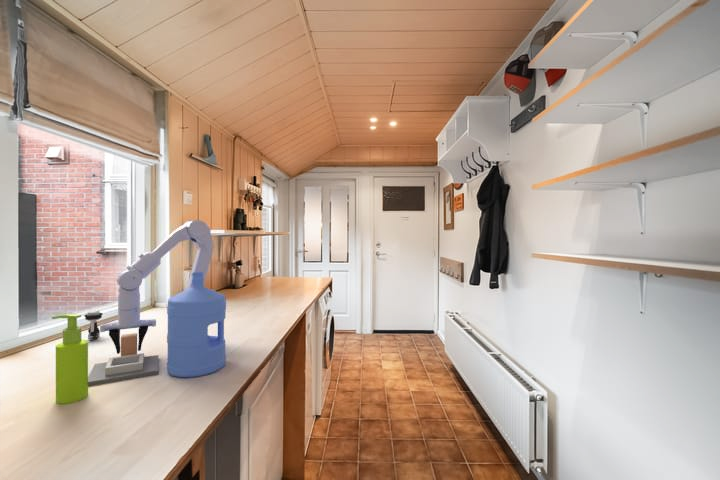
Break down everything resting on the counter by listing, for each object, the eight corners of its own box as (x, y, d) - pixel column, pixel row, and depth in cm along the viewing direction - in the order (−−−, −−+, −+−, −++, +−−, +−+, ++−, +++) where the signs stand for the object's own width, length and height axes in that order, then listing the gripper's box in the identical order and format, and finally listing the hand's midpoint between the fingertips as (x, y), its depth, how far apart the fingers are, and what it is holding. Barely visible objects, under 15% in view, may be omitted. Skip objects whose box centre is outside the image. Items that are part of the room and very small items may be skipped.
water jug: (164, 382, 90) (164, 277, 90) (169, 362, 104) (169, 271, 104) (227, 373, 97) (228, 274, 96) (223, 355, 111) (224, 269, 110)
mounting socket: (158, 358, 107) (158, 348, 107) (157, 374, 95) (157, 363, 95) (94, 367, 99) (94, 357, 99) (85, 386, 87) (85, 374, 87)
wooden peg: (137, 354, 110) (137, 332, 110) (136, 358, 107) (136, 336, 107) (122, 356, 108) (122, 334, 108) (120, 360, 105) (120, 338, 105)
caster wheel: (98, 340, 123) (99, 313, 123) (80, 342, 121) (80, 314, 121) (104, 335, 130) (104, 309, 129) (87, 337, 127) (87, 310, 127)
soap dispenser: (64, 392, 84) (63, 311, 83) (93, 391, 84) (93, 311, 84) (44, 404, 78) (43, 317, 78) (76, 403, 78) (76, 317, 78)
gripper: (156, 304, 115) (156, 344, 115) (102, 308, 107) (102, 351, 108) (155, 308, 109) (155, 350, 109) (99, 312, 101) (99, 358, 101)
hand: (129, 351), depth 108 cm, fingers open, 5 cm apart
